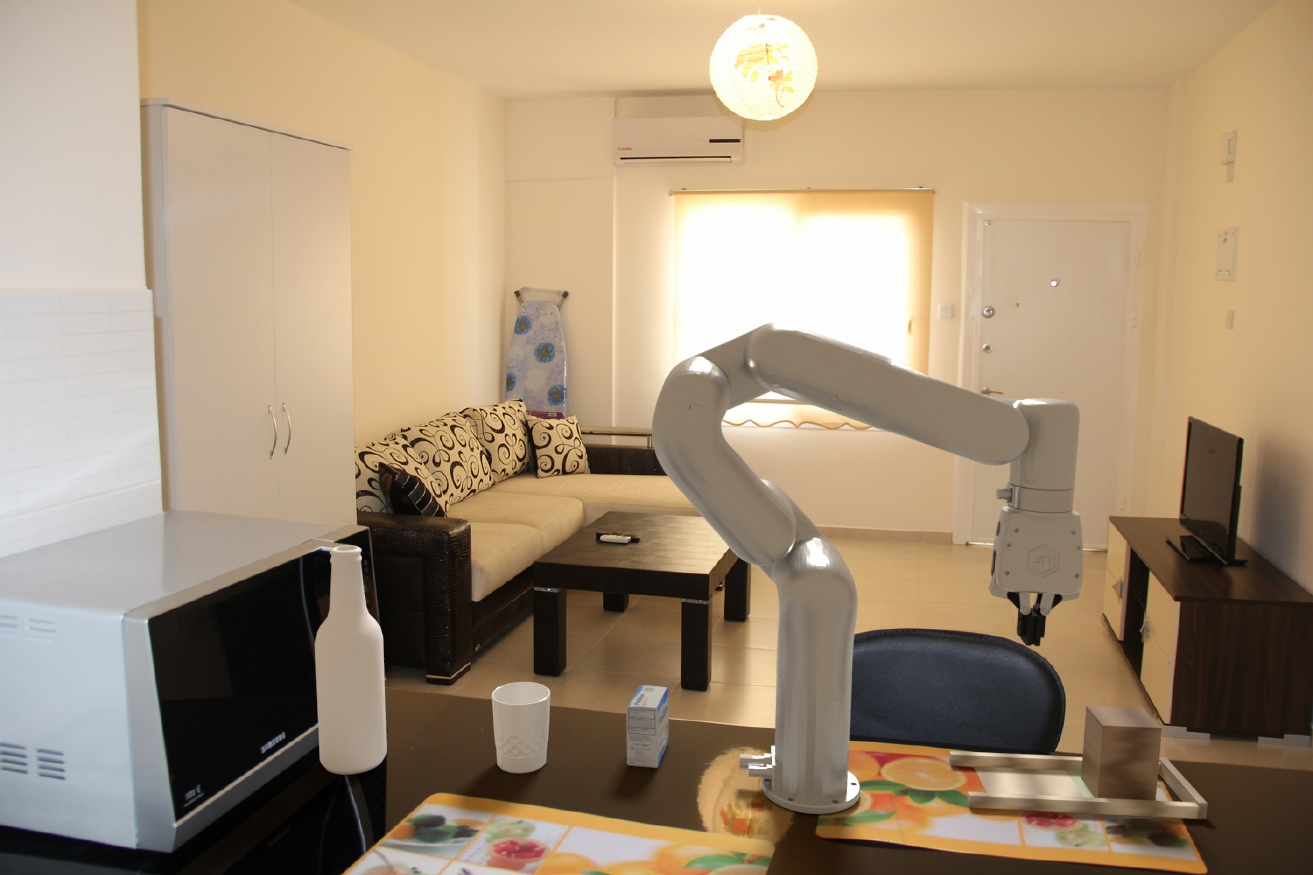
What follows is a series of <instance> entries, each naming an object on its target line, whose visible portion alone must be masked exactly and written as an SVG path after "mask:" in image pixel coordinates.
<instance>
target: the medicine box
mask: <svg viewBox="0 0 1313 875" xmlns="http://www.w3.org/2000/svg"><path fill="white" fill-rule="evenodd" d="M669 697H670V696H669V688H668V687H667V686H666V687H665V686H661V685H660V686H658V685H645V684H644V685H639V687H638V688H637V690H636V691H635V694H634V695H633V697H632V698H631V700H630V702H629V704H628V705H627V706H626V719H625V720H626V721H625V722H626V765H627V766H632V767H638V768H639V767H641V768H650V769H651V768H653V769H658V768H659V766H660V763H661V761H662V760H663V756H664V754H665V751H666V749H667V746H668V745H669V700H670V699H669Z"/></svg>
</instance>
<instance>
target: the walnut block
mask: <svg viewBox="0 0 1313 875" xmlns="http://www.w3.org/2000/svg"><path fill="white" fill-rule="evenodd" d="M1083 730H1084V731H1083V742H1082V744H1083V746H1082V756H1081V757H1082V770H1081V779H1082V781H1083V782H1084V783H1085V785H1086V786H1087V788H1088V789H1089V791H1090V792H1091V794H1092V795H1093V796H1094V798H1110V799H1131V800H1151V801H1157V800H1156V799H1157V789H1158V778H1159V775H1158V767H1159V757H1161V756H1160V754H1161V753H1160V752H1161V743H1162V731H1163V728H1162V727H1161V726H1160V725H1159V724H1158V722H1156V720H1155V719H1153V718H1152V716H1151V715H1150V714H1149V713H1148V712H1147V711H1146V710H1145V709H1144V708H1143V707H1130V706H1129V707H1128V706H1127V707H1126V706H1124V707H1123V706H1105V705H1104V706H1103V705H1086V706H1085V719H1084V729H1083Z"/></svg>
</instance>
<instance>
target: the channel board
mask: <svg viewBox="0 0 1313 875" xmlns="http://www.w3.org/2000/svg"><path fill="white" fill-rule="evenodd" d="M1082 757H1083V756H1066V755H1065V756H1063V755H1062V756H1061V755H1043V754H1021V753H1003V752H1002V753H999V752H997V753H996V752H979V751H978V752H977V751H976V752H975V751H974V752H973V751H959V750H958V751H957V750H956V751H954V750H950V751H949V759H948V760H949V761H948V762H949V765H950V766H954V767H956V766H957V767H972V768H974V770H975V772H976V774H977V777H978V778H979V782H981V785H982V786H983V789H984V791H985V792H984V791H981V792H980V791H967V802H966V803H967V806H968V808H976V809H994V810H995V809H997V810H1014V811H1035V812H1036V811H1037V812H1053V813H1054V812H1055V813H1072V814H1073V813H1075V814H1096V815H1112V816H1113V815H1114V816H1115V815H1116V816H1131V817H1132V816H1134V817H1135V816H1136V817H1152V818H1153V817H1155V818H1156V817H1157V818H1174V819H1176V818H1177V819H1195V820H1207V815H1208V813H1207V812H1208V807H1209V806H1208V805H1209V804H1208V802H1207V801H1206V800H1205V798H1203V797H1202V796H1201V794H1200V793H1199V791H1197V790H1196V789H1195V787H1193V785H1191V783H1190V782H1189V781H1188V780H1187V779H1186V778H1185V777H1184V776H1183V774H1182V773H1180V771H1179V770H1178V769H1177V768H1176V767H1175V766H1174V764H1172V762H1171V761H1170V760H1169V759H1168V758H1167V757H1166V756H1165V757H1164V756H1159V767H1158V776H1160V777H1161V778H1162V779H1163V780H1164V782H1165V783H1166V785H1168V787H1169V788H1171V789H1172V791H1173V792H1174V794H1175V795H1176V796H1177V797H1178V798H1179V799H1180V800H1181V801H1172V800H1171V801H1167V800H1156V801H1151V800H1131V799H1110V798H1094V796H1093V795H1092V794H1091V792H1090V791H1089V789H1088V788H1087V786H1086V785H1085V783H1084V782H1083V781H1082V779H1081V770H1082Z"/></svg>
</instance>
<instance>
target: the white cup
mask: <svg viewBox="0 0 1313 875" xmlns="http://www.w3.org/2000/svg"><path fill="white" fill-rule="evenodd" d="M491 704H492V718H493V722H492V723H493V734H494V745H495V748H496V764H497V766H498V767H499V768H500V770H502V771H505V772H508V773H510V774H527V773H532V772H535V771H538V770H539V769H542V767H543V766H544V765H545V764H546V763H547V750H548V742H549V732H550V731H549V730H550V729H549V727H550V706H551V690H550V689H549V688H548V687H547V686H546V685H544V684H541V683H537V682H531V681H518V682H511V683H507V684H503V685H500V686H498V687H497V688H495V689H494V690H493V691H492V693H491Z"/></svg>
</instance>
